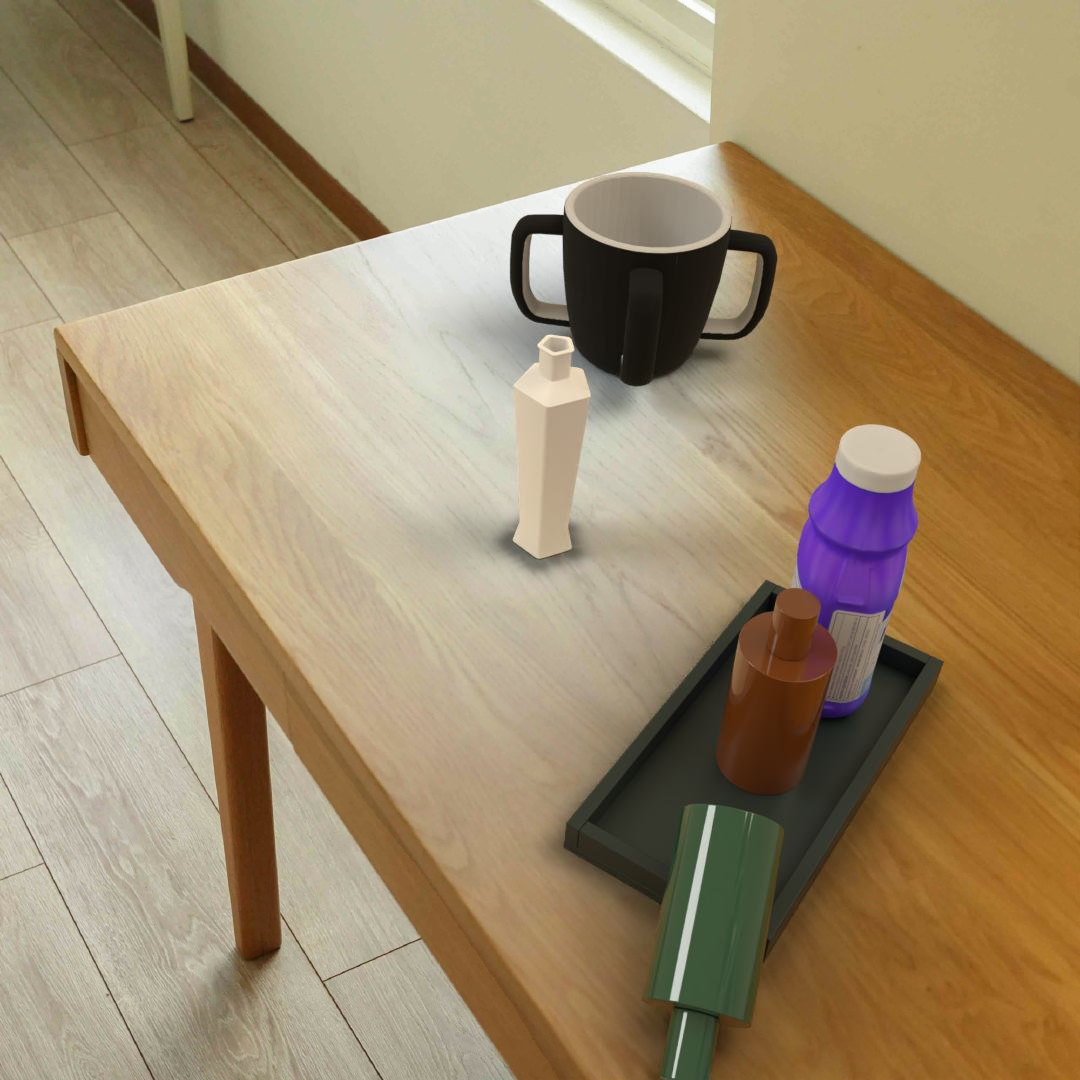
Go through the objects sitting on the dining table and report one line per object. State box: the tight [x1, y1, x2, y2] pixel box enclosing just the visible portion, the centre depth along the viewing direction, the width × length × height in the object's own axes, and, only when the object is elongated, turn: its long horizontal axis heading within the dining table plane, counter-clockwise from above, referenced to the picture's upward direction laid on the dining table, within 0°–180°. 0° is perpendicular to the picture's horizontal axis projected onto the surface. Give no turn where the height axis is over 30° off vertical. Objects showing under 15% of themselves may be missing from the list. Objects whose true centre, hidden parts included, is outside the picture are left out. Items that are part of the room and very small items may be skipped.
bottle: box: [789, 423, 922, 718], centre depth 73 cm, size 7×6×17 cm
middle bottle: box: [715, 587, 838, 795], centre depth 70 cm, size 5×5×12 cm
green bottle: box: [641, 804, 785, 1080], centre depth 62 cm, size 5×5×12 cm
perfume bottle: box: [512, 334, 592, 560], centre depth 83 cm, size 5×4×15 cm
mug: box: [509, 171, 778, 387], centre depth 101 cm, size 16×16×12 cm
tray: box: [563, 579, 945, 964], centre depth 74 cm, size 12×23×2 cm, turn 146°
